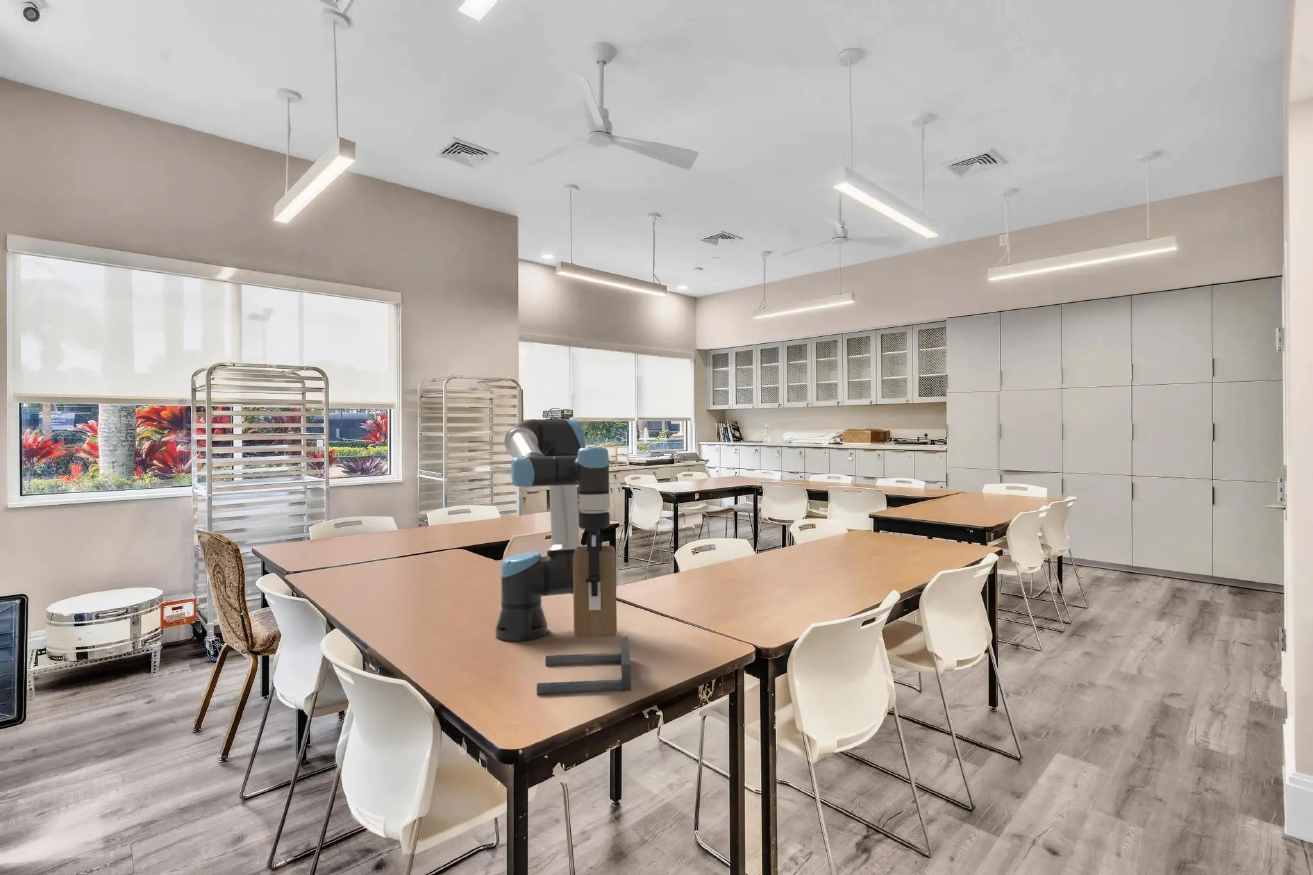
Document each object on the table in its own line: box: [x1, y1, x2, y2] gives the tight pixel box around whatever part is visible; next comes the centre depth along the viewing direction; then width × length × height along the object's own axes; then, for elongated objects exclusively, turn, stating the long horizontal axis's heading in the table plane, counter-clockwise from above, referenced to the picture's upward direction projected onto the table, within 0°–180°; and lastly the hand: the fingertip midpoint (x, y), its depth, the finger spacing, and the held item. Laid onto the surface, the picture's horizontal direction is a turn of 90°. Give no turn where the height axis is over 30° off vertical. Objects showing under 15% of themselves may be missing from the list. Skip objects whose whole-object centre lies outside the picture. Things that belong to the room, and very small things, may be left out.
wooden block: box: [572, 545, 618, 639], centre depth 146 cm, size 10×10×20 cm
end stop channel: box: [536, 636, 632, 696], centre depth 146 cm, size 21×20×6 cm
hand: (595, 603), depth 146 cm, fingers closed on wooden block, 10 cm apart
